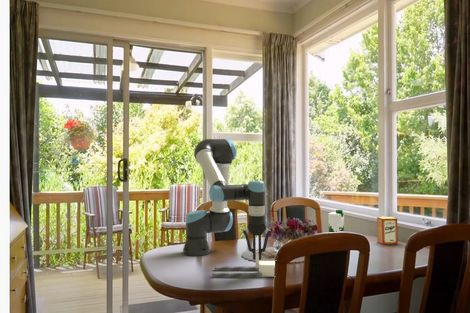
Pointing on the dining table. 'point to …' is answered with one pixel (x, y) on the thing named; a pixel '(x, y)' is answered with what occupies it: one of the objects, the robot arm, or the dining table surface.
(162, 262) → the dining table surface
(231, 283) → the dining table surface
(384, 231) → the baking soda box
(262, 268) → the cream block
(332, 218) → the milk carton
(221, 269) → the twin grey rails
